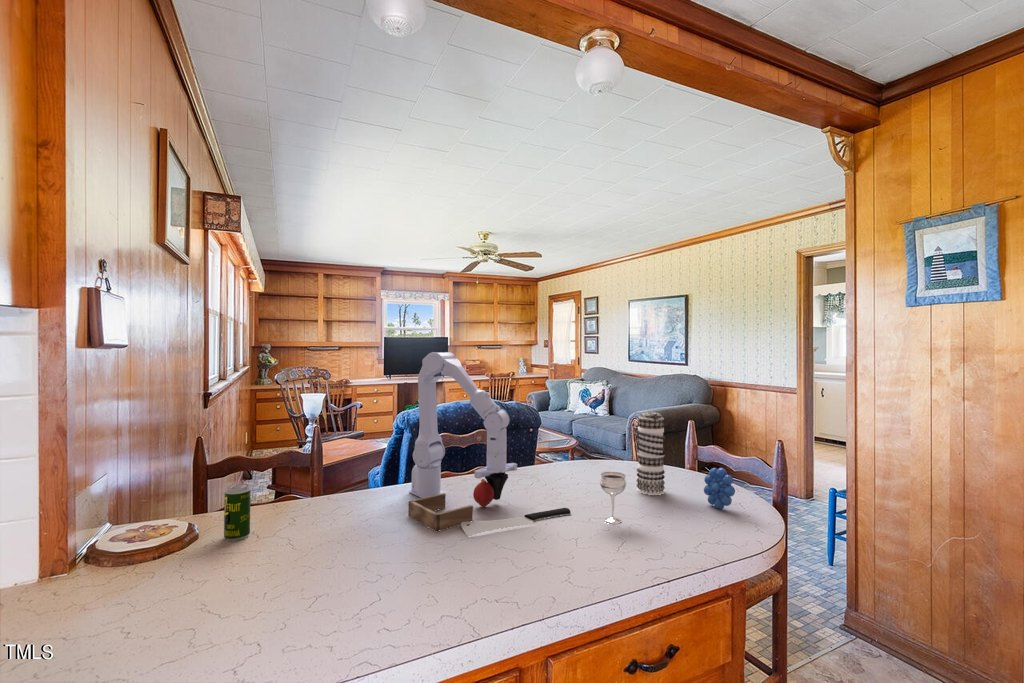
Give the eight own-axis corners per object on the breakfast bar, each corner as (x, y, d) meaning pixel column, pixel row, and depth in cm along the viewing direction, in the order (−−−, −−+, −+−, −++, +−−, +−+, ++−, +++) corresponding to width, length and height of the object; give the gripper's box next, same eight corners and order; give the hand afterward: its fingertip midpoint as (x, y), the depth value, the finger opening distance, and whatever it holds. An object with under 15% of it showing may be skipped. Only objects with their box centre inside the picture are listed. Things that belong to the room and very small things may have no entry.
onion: (484, 502, 139) (484, 474, 139) (497, 507, 135) (498, 479, 135) (469, 506, 135) (469, 478, 135) (482, 512, 130) (482, 483, 131)
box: (408, 516, 127) (408, 501, 127) (443, 507, 134) (443, 493, 134) (436, 531, 116) (436, 515, 116) (472, 521, 123) (472, 505, 123)
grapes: (746, 514, 131) (746, 470, 131) (726, 516, 129) (726, 472, 129) (717, 501, 142) (717, 460, 142) (698, 502, 140) (698, 462, 140)
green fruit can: (231, 532, 114) (232, 483, 114) (254, 532, 115) (255, 483, 115) (218, 542, 109) (219, 489, 109) (242, 542, 109) (243, 489, 109)
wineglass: (615, 527, 120) (615, 480, 120) (594, 519, 125) (594, 474, 125) (631, 521, 125) (631, 475, 125) (610, 514, 130) (610, 470, 130)
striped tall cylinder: (631, 487, 155) (631, 411, 155) (658, 487, 156) (658, 411, 156) (641, 496, 146) (642, 415, 146) (670, 495, 147) (671, 414, 147)
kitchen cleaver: (471, 539, 111) (458, 519, 120) (471, 546, 111) (457, 526, 120) (583, 520, 124) (563, 504, 133) (583, 526, 124) (563, 509, 133)
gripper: (485, 458, 130) (484, 507, 130) (524, 451, 139) (523, 497, 139) (470, 453, 135) (469, 501, 135) (508, 447, 145) (508, 491, 145)
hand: (496, 498), depth 138 cm, fingers closed
